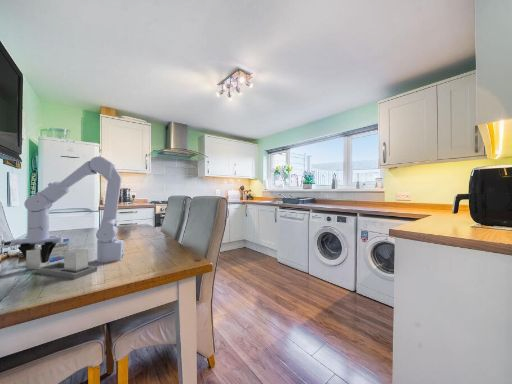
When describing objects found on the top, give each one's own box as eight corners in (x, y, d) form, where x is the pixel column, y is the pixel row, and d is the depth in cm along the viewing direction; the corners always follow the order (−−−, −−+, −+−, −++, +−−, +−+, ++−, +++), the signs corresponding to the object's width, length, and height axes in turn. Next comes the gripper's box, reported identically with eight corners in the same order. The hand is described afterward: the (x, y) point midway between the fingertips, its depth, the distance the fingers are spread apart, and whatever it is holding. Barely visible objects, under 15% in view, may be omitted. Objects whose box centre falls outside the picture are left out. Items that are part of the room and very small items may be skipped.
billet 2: (64, 274, 73) (64, 251, 73) (76, 270, 77) (77, 248, 77) (75, 276, 71) (76, 252, 71) (88, 272, 75) (88, 249, 75)
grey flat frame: (35, 275, 74) (36, 268, 74) (60, 268, 81) (60, 261, 81) (74, 282, 69) (74, 274, 69) (96, 273, 76) (97, 266, 76)
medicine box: (48, 262, 87) (49, 242, 87) (40, 262, 88) (40, 241, 88) (69, 257, 95) (69, 238, 95) (61, 256, 96) (61, 237, 96)
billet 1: (35, 267, 82) (36, 246, 82) (48, 266, 83) (49, 245, 84) (26, 272, 77) (26, 250, 77) (40, 271, 78) (40, 249, 78)
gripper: (67, 224, 86) (66, 257, 86) (20, 226, 82) (20, 261, 82) (58, 227, 80) (57, 263, 80) (6, 229, 75) (6, 267, 75)
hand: (37, 262), depth 80 cm, fingers closed on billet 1, 4 cm apart
